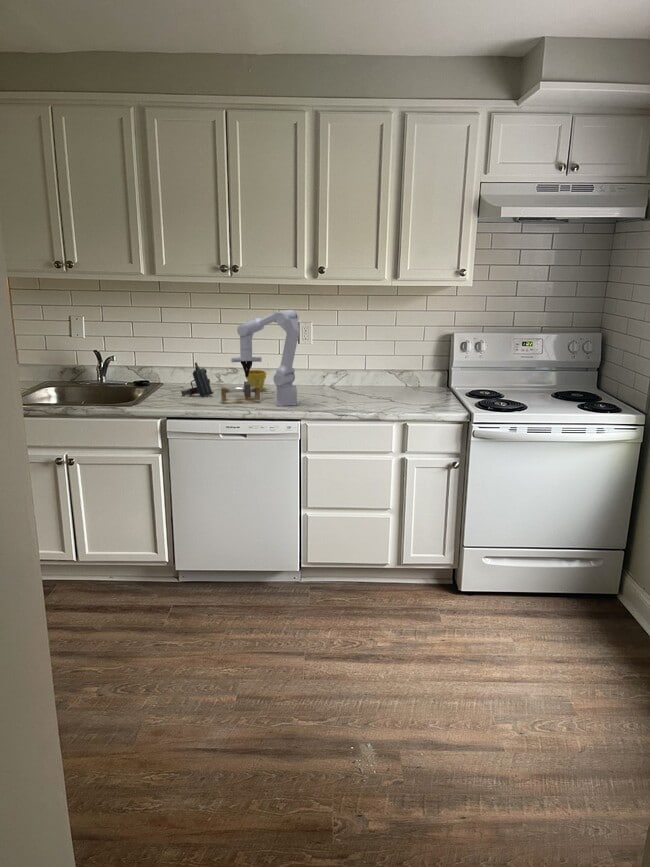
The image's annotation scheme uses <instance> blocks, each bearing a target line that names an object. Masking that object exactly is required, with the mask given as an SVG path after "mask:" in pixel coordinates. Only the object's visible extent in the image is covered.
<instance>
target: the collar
mask: <svg viewBox="0 0 650 867" xmlns="http://www.w3.org/2000/svg"><path fill="white" fill-rule="evenodd" d="M243 387H245V392H243V394H244V395H243V396H244V398H252V397H251V393H252V392H251V390H250V383H249V381H243Z"/></svg>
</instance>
